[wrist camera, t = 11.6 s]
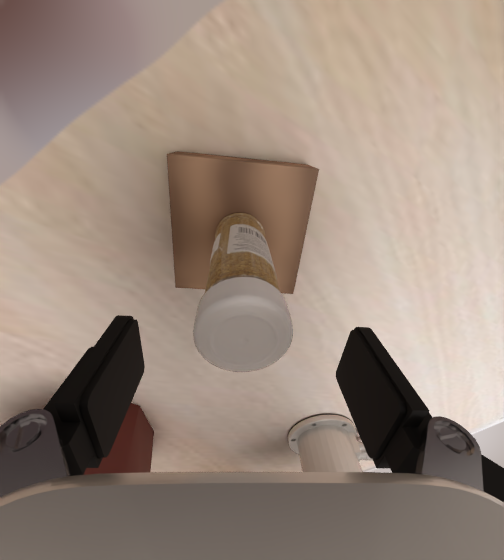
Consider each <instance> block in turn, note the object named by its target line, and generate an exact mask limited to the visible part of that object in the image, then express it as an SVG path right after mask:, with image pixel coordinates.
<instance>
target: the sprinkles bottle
mask: <svg viewBox="0 0 504 560" xmlns="http://www.w3.org/2000/svg"><path fill="white" fill-rule="evenodd" d="M193 336H194V342H195V345H196V347H197V349H198V351H199V353H200V354H201V355H202V356H203V357H204V358H205V359H206V360H207V361H208V362H210V363H211V364H213V365H215V366H217V367H219V368H221V369H225V370H229V371H234V372H249V371H255V370H259V369H262V368H265V367H267V366H269V365H271V364H273V363H274V362H276V361H277V360H279V359H280V358H281V357H282V356H283V355H284V354H285V353H286V351H287V350H288V348H289V346H290V344H291V341H292V336H293V326H292V322H291V317H290V313H289V310H288V306H287V303H286V301H285V299H284V297H283V295H282V294H281V292H280V291H279V287H278V283H277V276H276V272H275V268H274V265H273V261H272V258H271V254H270V251H269V248H268V244H267V242H266V239H265V231H264V228H263V226H262V224H261V223H260V222H259V221H258V220H257V219H256V218H254V217H253V216H251V215H249V214H246V213H234V214H232V215H229V216H226V217H225V218H224V219H223V220H222V221H221V222H220V223H219V225H218V227H217V229H216V232H215V241H214V245H213V249H212V254H211V259H210V269H209V274H208V279H207V283H206V290H205V294H204V295H203V297H202V298H201V300H200V302H199V305H198V309H197V313H196V318H195V323H194V330H193Z"/></svg>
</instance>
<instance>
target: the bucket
mask: <svg viewBox="0 0 504 560" xmlns="http://www.w3.org/2000/svg"><path fill="white" fill-rule="evenodd" d="M153 436H154V431H153V429H152V427H151V425H150V424H149V422H148V420H147V418H146V416H145V415H144V413H143V411H142V409H141V407H140V406H139V405H135V404H132V403H131V404H130V406H129V408H128V411H127V413H126V416H125V418H124V420H123V423H122V425H121V427H120V430H119V432H118V434H117V437H116V439H115V442H114V444H113V446H112V449H111V451H110V453H109V455H108V456H107V457H106V458H103V459H102V461H101V463H100V465H99V468H86V470H85V473H84V475H89V474H106V473H146V472H150V469H151V458H152V447H153Z"/></svg>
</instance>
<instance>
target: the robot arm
mask: <svg viewBox="0 0 504 560" xmlns="http://www.w3.org/2000/svg"><path fill="white" fill-rule="evenodd" d="M143 373H144V359H143V353H142V346H141V340H140V333H139V327H138V321H137V320H134V319H133V317H132V316H119V315H118V316H116V317H115V318H114V320H113V321H112V322H111V324H110V325H109V327H108V328H107V329H106V331H105V332H104V334H103V335H102V336H101V338H100V339H99V340H98V342H97V343H96V345H95V346H94V347H91V348H89V349H88V350H87V351H86V353H85V354H84V355H83V357H82V358H81V359H80V361H79V362H78V363H77V365H76V366H75V367H74V369H73V370H72V371H71V373H70V374H69V375H68V377H67V378H66V379H65V381H64V382H63V383H62V385H61V386H60V388H59V389H58V390H57V392H56V393H55V394H54V396H53V397H52V398H51V400H50V401H49V402H48V404H47V405H46V406H45V408H44V409H34V410H29V411H26V412H23V413H20V414H18V415H16V416H15V417H13V418H11V419H9V420H8V421H7V422H5V423H4V424H3V425H1V426H0V560H504V468H502V467H501V466H499V465H498V464H496V463H494V462H493V461H491V460H489V459H488V458H486V457H485V456H483V455H481V451H480V447H479V445H478V443H477V442H476V440H475V439H474V438H473V436H472V435H471V434H470V433H469V432H468V431H467V430H466V429H465V428H463V427H462V426H461V425H459V424H458V423H456V422H455V421H452V420H450V419H448V418H445V417H440V416H439V417H433V418H432V416H431V415H430V413H429V410H428V408H427V407H426V405H425V404H424V403H423V401H422V400H421V398H420V397H419V396H418V394H417V393H416V391H415V390H414V388H413V387H412V386H411V384H410V383H409V381H408V380H407V379H406V377H405V376H404V374H403V373H402V372H401V370H400V369H399V367H398V366H397V365H396V363H395V362H394V360H393V359H392V358H391V356H390V355H389V353H388V352H387V350H386V349H385V348H384V346H383V345H382V343H381V342H380V341H379V339H378V338H377V336H376V335H375V334H374V332H373V331H372V329H371V328H366V327H356V328H355V329H354V330H352V331H351V332H350V335H349V337H348V340H347V343H346V346H345V349H344V351H343V354H342V357H341V360H340V362H339V365H338V368H337V371H336V379H337V382H338V384H339V387H340V389H341V391H342V394H343V396H344V399H345V401H346V404H347V406H348V408H349V411H350V413H351V416H352V418H353V421H354V423H355V425H356V428H357V430H358V433H359V435H360V438H361V440H362V442H359V441H358V440H356V437H357V431H356V428H355V426H354V424H353V422H351V421H350V420H349V419H347V418H345V417H342V416H339V415H318V416H314V417H310V418H308V419H305V420H303V421H301V422H299V423H298V424H296V425H295V426H294V427H293V428H292V429H291V431H290V432H289V435H288V443H289V447H290V449H291V450H292V451H293V452H295V453H296V454H298V455H299V456H300V461H301V466H302V471H303V472H146V473H106V474H89V475H84V473H85V470H86V468H99V465H100V463H101V461H102V459H103V458H106V457H107V456H108V455H109V453H110V451H111V449H112V446H113V444H114V442H115V439H116V437H117V434H118V432H119V430H120V427H121V425H122V423H123V420H124V418H125V416H126V413H127V411H128V408H129V406H130V404H131V401H132V399H133V397H134V394H135V392H136V390H137V387H138V385H139V382H140V380H141V378H142V375H143ZM359 460H373V461H374V463H375V466H376V468H390V469H391V471H392V473H375V472H363V471H362V469H361V466H360V463H359Z"/></svg>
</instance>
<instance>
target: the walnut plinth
mask: <svg viewBox="0 0 504 560" xmlns="http://www.w3.org/2000/svg"><path fill="white" fill-rule="evenodd" d="M167 163H168V178H169V193H170V209H171V224H172V239H173V254H174V270H175V285H176V288H195V289H206V283H207V279H208V274H209V269H210V259H211V254H212V249H213V245H214V241H215V232H216V229H217V227H218V225H219V223H220V222H221V221H222V220H223V219H224V218H225V217H226V216H229V215H232V214H234V213H246V214H249V215H251V216H253V217H254V218H256V219H257V220H258V221H259V222H260V223H261V224H262V226H263V228H264V231H265V239H266V242H267V244H268V248H269V251H270V254H271V258H272V261H273V265H274V268H275V272H276V276H277V283H278V287H279V291H280V292H281V293H288V294H293V292H294V287H295V282H296V277H297V272H298V268H299V263H300V258H301V253H302V248H303V243H304V239H305V234H306V229H307V224H308V219H309V215H310V210H311V205H312V200H313V195H314V190H315V186H316V181H317V176H318V171H319V169H317V168H315V167H312V166H309V165H306V164H297V163H287V162H277V161H267V160H257V159H247V158H237V157H227V156H217V155H208V154H198V153H188V152H173V153H169V154H167Z"/></svg>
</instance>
